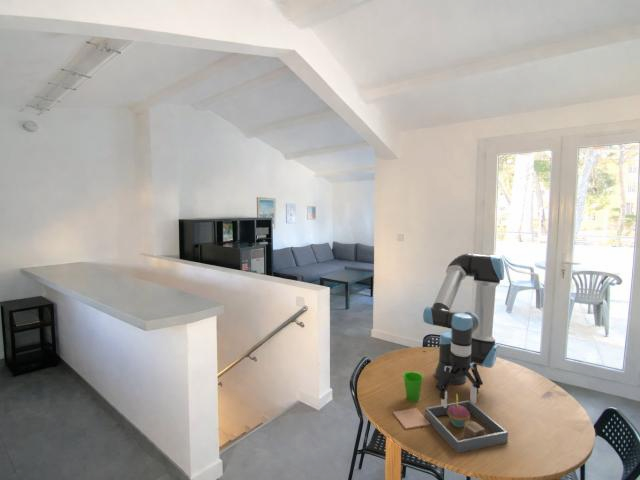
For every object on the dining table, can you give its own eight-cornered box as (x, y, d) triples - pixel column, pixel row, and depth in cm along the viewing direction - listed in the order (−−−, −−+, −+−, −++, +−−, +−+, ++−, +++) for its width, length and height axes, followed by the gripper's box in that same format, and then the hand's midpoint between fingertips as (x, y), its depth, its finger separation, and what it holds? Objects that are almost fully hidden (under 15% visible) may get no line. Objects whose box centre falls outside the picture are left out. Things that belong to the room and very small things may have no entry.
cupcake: (443, 417, 143) (444, 390, 142) (462, 416, 144) (463, 389, 142) (453, 431, 134) (454, 402, 133) (473, 429, 135) (474, 401, 134)
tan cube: (473, 433, 133) (473, 421, 133) (484, 441, 129) (484, 428, 128) (463, 436, 131) (464, 424, 131) (474, 445, 126) (475, 432, 126)
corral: (468, 409, 149) (469, 400, 148) (507, 442, 128) (507, 432, 127) (424, 416, 143) (425, 407, 143) (457, 452, 123) (457, 442, 122)
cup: (423, 405, 151) (424, 382, 150) (402, 403, 153) (403, 380, 152) (422, 394, 160) (422, 372, 159) (402, 392, 162) (402, 370, 161)
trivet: (416, 409, 149) (416, 408, 149) (430, 425, 138) (430, 423, 138) (393, 413, 146) (393, 411, 146) (405, 429, 135) (405, 428, 135)
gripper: (480, 346, 142) (478, 394, 144) (427, 352, 136) (425, 402, 138) (494, 353, 135) (491, 404, 137) (438, 360, 129) (436, 413, 131)
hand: (458, 403), depth 138 cm, fingers open, 13 cm apart
